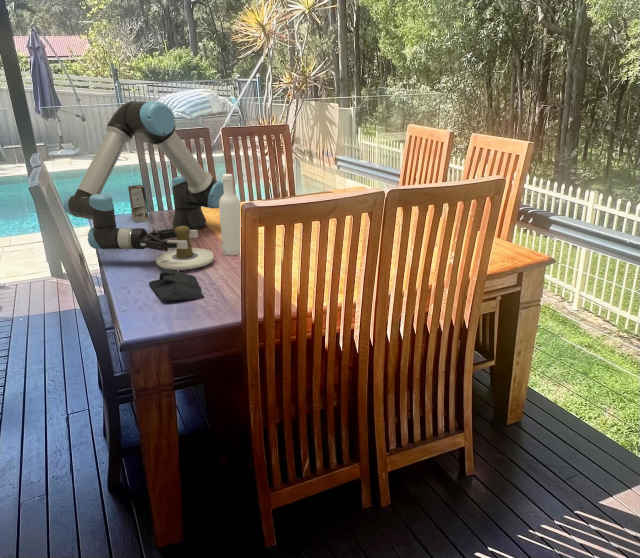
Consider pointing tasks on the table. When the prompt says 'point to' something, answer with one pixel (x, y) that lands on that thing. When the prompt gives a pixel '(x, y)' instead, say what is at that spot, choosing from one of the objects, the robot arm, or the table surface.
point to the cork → (183, 235)
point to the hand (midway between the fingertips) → (192, 239)
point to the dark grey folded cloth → (176, 286)
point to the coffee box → (138, 203)
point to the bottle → (229, 218)
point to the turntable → (198, 260)
